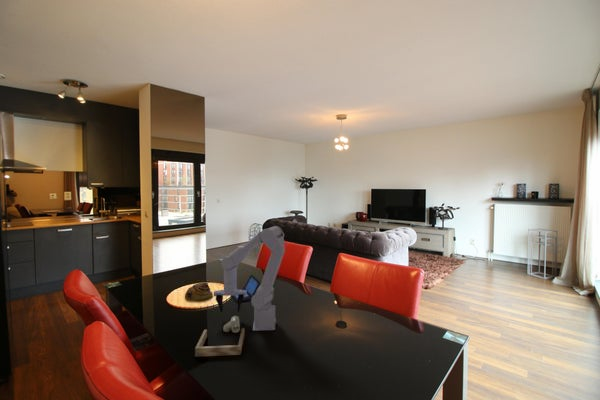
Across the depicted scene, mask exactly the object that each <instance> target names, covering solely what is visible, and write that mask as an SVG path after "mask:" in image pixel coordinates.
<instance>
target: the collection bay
mask: <svg viewBox="0 0 600 400" xmlns="http://www.w3.org/2000/svg"><path fill="white" fill-rule="evenodd" d="M245 331H246V330H245V327H244V328H241V330H240V336H239V340H238V343H237V345H236V344H233V345H231V344H230V345H216V346H215V345H213V346H212V345H211V346H204V344H205V342H206V340H207V338H208V329H204V330H203V332H202V333H201V336H200V338H199V340H198V342H197V344H196V346H195V348H194V356H195V357H198V358H199V357H217V356H218V357H219V356H220V357H221V356H238V355H239V356H240V355H241V354H242V348H243V344H244V339H245V336H246V335H245V333H246V332H245Z"/></svg>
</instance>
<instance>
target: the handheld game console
mask: <svg viewBox="0 0 600 400" xmlns="http://www.w3.org/2000/svg"><path fill="white" fill-rule="evenodd" d="M260 285H261V281H259V279H257V278H256V277H255V276H254V275H253V274H251V275H249V277H248V280H247V282H246V283H245V285H244V287H243V288H240V289H238V288H237V289H238V290H247V294H246V296H244V298H243V300H242V302H241V303H243V302H248V301H250V302H251V299H252V297H253V296H254V295H255V293H256V291H257V289H258V288H259V286H260ZM238 296H239V295H234V296H231V297H232V299H233V300H234V301H235V303H237V304H238Z"/></svg>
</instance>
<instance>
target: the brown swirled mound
mask: <svg viewBox="0 0 600 400" xmlns="http://www.w3.org/2000/svg"><path fill="white" fill-rule="evenodd" d="M212 297H214V293H213V291H212V290H211V288H210V285H209V283H208V282H204V281H202V282H197V283H196V284H193V285H192V286H190V287H188V289H187V290H186V292H185V293H184V299H185V300H186V301H195V302H203V301H207V300H210V299H212Z"/></svg>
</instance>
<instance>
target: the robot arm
mask: <svg viewBox="0 0 600 400" xmlns="http://www.w3.org/2000/svg"><path fill="white" fill-rule="evenodd" d="M284 238H285V233H284V232H283V230H282V228H281V227H280V226H278V225H273V226H271V227H269V228H264V229H262V230H261V231H259V232H258V233H257V234H256V235H254V237H252V238H251V239H250V240H249V241H248V242H246V243H245V245H237V246H236V247H235V250H233V251H231V252H229V253H228V256H227V255H226V256H224V257H223V258H222V259H221V262H220V265H221V268H222V269H223V289H220V290H214V291H213V297H215V301H216V302H217V304H218V308H219V311H220V313H222V312H223V311H224V304H223V302H224V301H223V300H224V296H225V297H228V296H231V297H232V296H234V295H239V296H238V303H237V312H239V313H240V310H241V304H242V303H243V302H242V300H243V298H244V296H246V294H247V290H238V287H237V285H238V283H237V278H238V274H237V273H238V272H237V271H238V266H239V264H240V263H241V262H242V261H244V260H245V259H246V258H247V257H248V256H249V255H250V252H251V251H252V250H253V249H254V248H255V247H258V245H259V244H264V245H265V246H266V247H267V248H268V249H269V250H270V252H271V253H270V256H269V258H268V262H267V265H266V268H265V270H264V273H263V277H262V279H261V281H260V286H259V288H258V289H257V291H256V293H255V295H254V296H253V297H252V299H251V300H250V302H251V303H250V304H251V306H252V307H253V310H254V311H253V315H254V316H253V319H254V320H253V325H252V331H254V332H255V331H257V332H258V331H259V332H260V331H275V330H276V324H277V318H276V305H275V304H274V305H272V301H273V299H274V291H275V288H274V284H275V281H276V278H277V275H278V272H279V269H280V266H281V264H282V261H283V257H284V254H285V253H286V246H285V239H284Z"/></svg>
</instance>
